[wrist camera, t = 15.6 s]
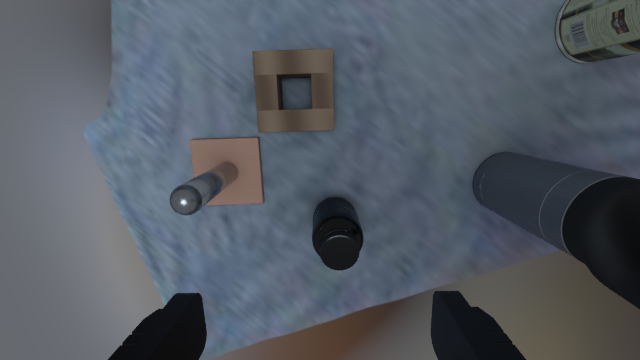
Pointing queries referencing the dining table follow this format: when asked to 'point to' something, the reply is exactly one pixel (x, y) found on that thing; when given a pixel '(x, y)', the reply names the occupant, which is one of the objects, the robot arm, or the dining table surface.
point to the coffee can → (598, 29)
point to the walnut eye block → (294, 65)
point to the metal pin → (202, 188)
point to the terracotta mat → (242, 156)
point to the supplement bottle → (337, 233)
